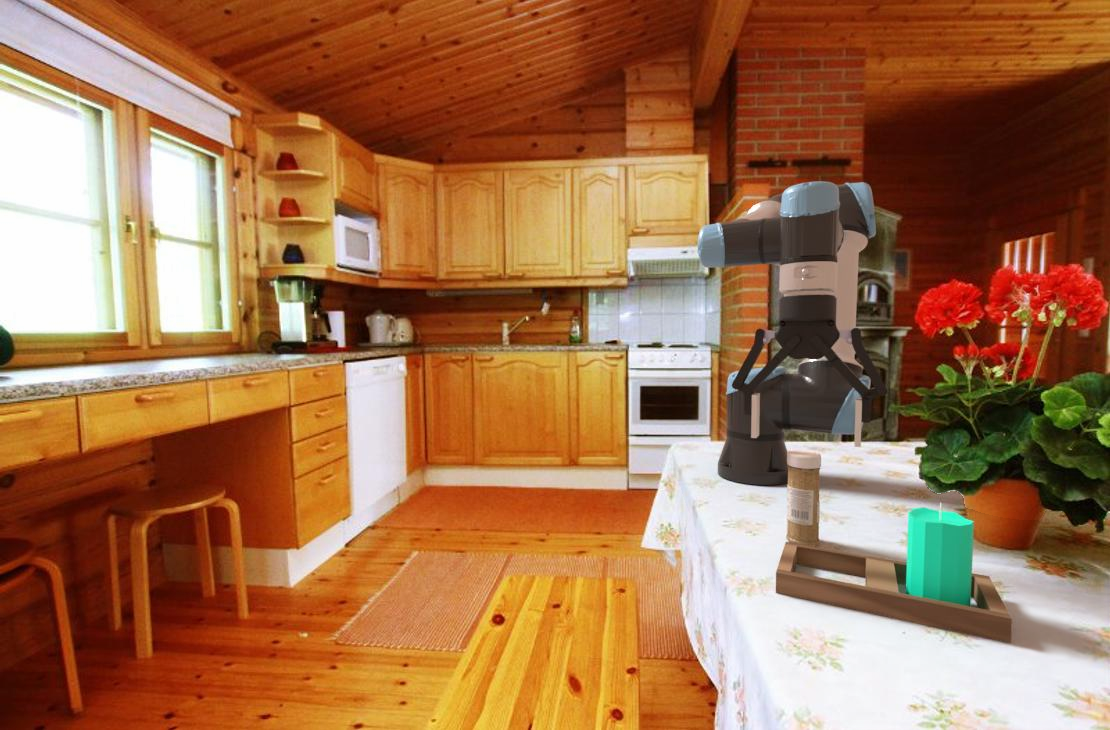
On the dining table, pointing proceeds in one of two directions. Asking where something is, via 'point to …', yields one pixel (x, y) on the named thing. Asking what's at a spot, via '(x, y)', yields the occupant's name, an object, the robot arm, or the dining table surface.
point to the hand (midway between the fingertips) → (804, 440)
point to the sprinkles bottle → (803, 497)
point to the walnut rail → (889, 592)
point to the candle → (939, 555)
